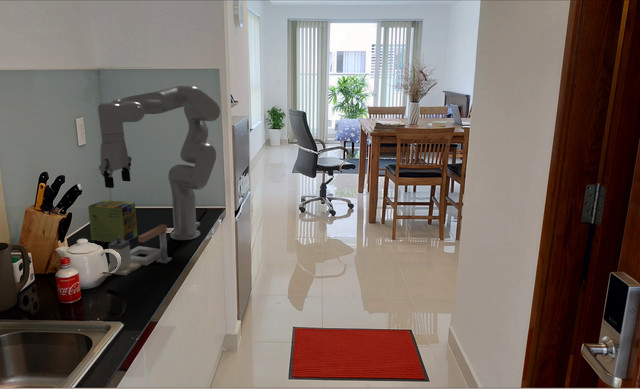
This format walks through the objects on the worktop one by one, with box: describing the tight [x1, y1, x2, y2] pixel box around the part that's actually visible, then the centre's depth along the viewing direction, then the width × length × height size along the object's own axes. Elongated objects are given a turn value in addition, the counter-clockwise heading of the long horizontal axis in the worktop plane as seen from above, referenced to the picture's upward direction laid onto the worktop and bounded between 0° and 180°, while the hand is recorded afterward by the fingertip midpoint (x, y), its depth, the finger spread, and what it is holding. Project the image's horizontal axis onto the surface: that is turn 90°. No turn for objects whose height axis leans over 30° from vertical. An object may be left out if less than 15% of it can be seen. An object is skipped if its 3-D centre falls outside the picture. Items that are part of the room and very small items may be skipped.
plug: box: [107, 237, 131, 269], centre depth 171 cm, size 5×5×11 cm
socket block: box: [130, 245, 161, 266], centre depth 183 cm, size 12×12×2 cm
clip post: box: [155, 231, 173, 264], centre depth 179 cm, size 4×4×12 cm
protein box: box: [88, 199, 138, 243], centre depth 201 cm, size 10×15×16 cm
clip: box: [137, 224, 168, 243], centre depth 172 cm, size 3×15×2 cm, turn 165°
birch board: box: [108, 262, 142, 276], centre depth 173 cm, size 9×11×1 cm
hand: (118, 184), depth 175 cm, fingers open, 9 cm apart
